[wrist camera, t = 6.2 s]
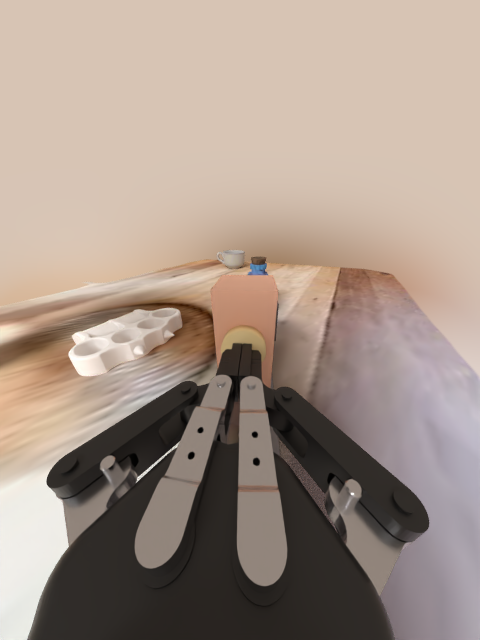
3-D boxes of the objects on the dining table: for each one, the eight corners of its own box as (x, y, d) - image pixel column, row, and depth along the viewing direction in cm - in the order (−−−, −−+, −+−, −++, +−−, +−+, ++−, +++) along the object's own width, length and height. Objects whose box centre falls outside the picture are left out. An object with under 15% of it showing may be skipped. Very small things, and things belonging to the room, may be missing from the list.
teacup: (246, 265, 97) (246, 249, 93) (243, 269, 87) (243, 252, 84) (220, 265, 99) (219, 250, 95) (215, 269, 89) (214, 252, 86)
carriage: (270, 408, 17) (279, 296, 12) (217, 404, 17) (206, 295, 12) (267, 364, 22) (272, 275, 18) (227, 362, 23) (222, 275, 18)
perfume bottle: (244, 305, 46) (244, 255, 41) (268, 305, 46) (271, 255, 40) (244, 315, 41) (243, 260, 35) (271, 315, 40) (275, 259, 35)
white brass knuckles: (150, 315, 43) (199, 328, 36) (53, 357, 29) (103, 392, 22) (147, 301, 41) (196, 313, 35) (42, 340, 27) (93, 371, 21)
